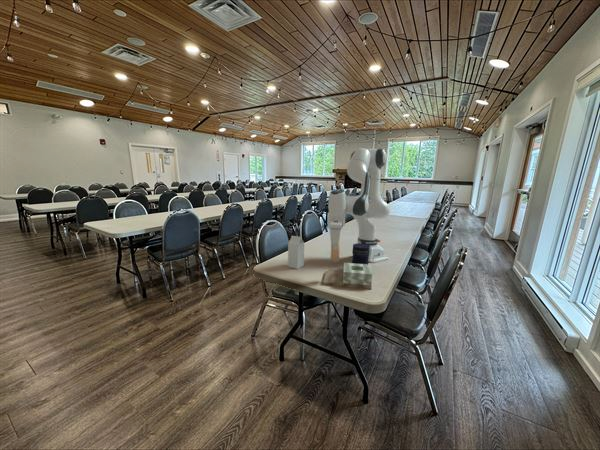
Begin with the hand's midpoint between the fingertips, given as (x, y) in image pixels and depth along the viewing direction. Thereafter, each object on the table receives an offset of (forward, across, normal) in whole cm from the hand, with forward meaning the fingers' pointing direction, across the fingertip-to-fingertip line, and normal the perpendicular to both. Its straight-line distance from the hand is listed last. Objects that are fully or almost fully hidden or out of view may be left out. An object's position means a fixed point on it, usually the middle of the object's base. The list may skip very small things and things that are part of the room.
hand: (335, 247), depth 131 cm
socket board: (+18, +1, +7) cm, 19 cm away
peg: (+7, 0, 0) cm, 7 cm away
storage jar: (+19, -17, +14) cm, 29 cm away
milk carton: (+18, -14, -24) cm, 33 cm away
